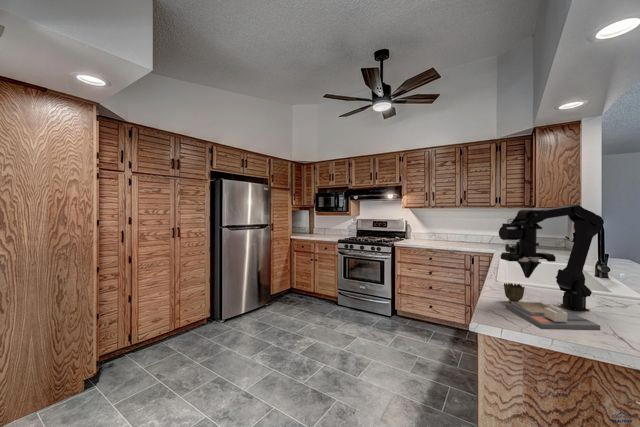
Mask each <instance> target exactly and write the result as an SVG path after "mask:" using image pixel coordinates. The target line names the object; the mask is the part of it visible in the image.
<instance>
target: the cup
mask: <svg viewBox="0 0 640 427" xmlns="http://www.w3.org/2000/svg"><path fill="white" fill-rule="evenodd" d="M503 289H504V295H505V297H506V298H507V299H508V302H509V304H512V302H520V301H521V300H522V299H523V297H524V293H525V286H523V285H522V284H520V283H518V284H517V283H514V284H513V283H512V282H508V283H507V282H506V283H505V282H504V283H503Z"/></svg>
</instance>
